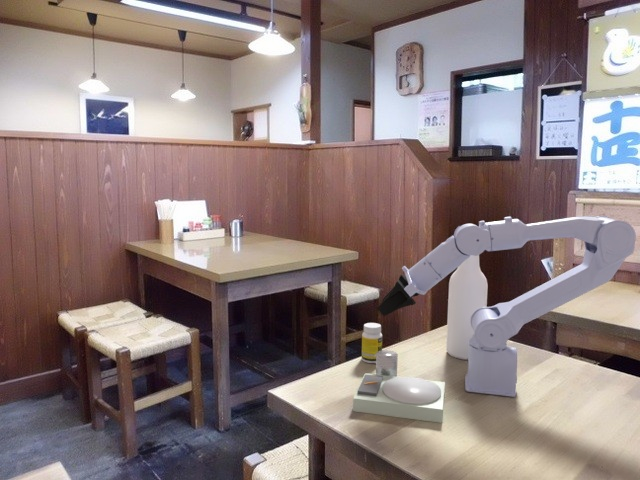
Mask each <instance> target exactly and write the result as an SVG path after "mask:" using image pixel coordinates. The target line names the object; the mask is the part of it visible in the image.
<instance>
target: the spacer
mask: <svg viewBox="0 0 640 480" xmlns="http://www.w3.org/2000/svg"><path fill="white" fill-rule="evenodd" d="M375 364H376V365H375V374H377V375H386V376H394V377H398V353H397V352H396V351H393V350H387V349H385V350H383V349H382V351H378V352H377V353H376V363H375Z"/></svg>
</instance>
